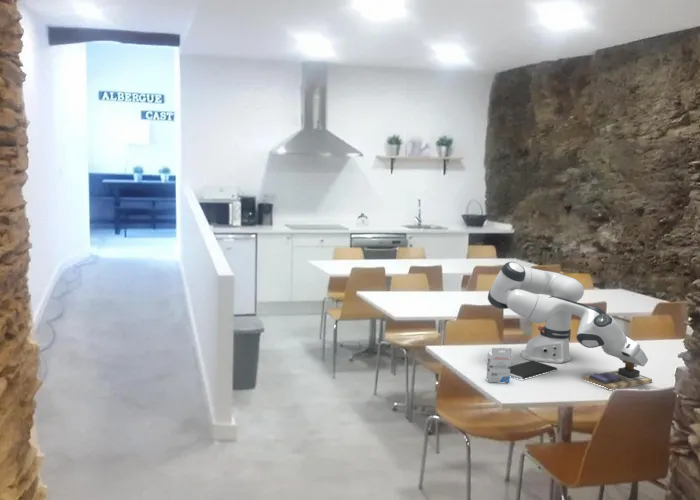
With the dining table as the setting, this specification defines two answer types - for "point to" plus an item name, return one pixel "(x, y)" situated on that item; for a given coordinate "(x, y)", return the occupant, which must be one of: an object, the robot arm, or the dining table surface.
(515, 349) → the dining table surface
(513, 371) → the black flat rectangular slab
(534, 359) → the robot arm
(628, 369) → the stamp
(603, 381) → the stamp board
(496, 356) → the ink box
